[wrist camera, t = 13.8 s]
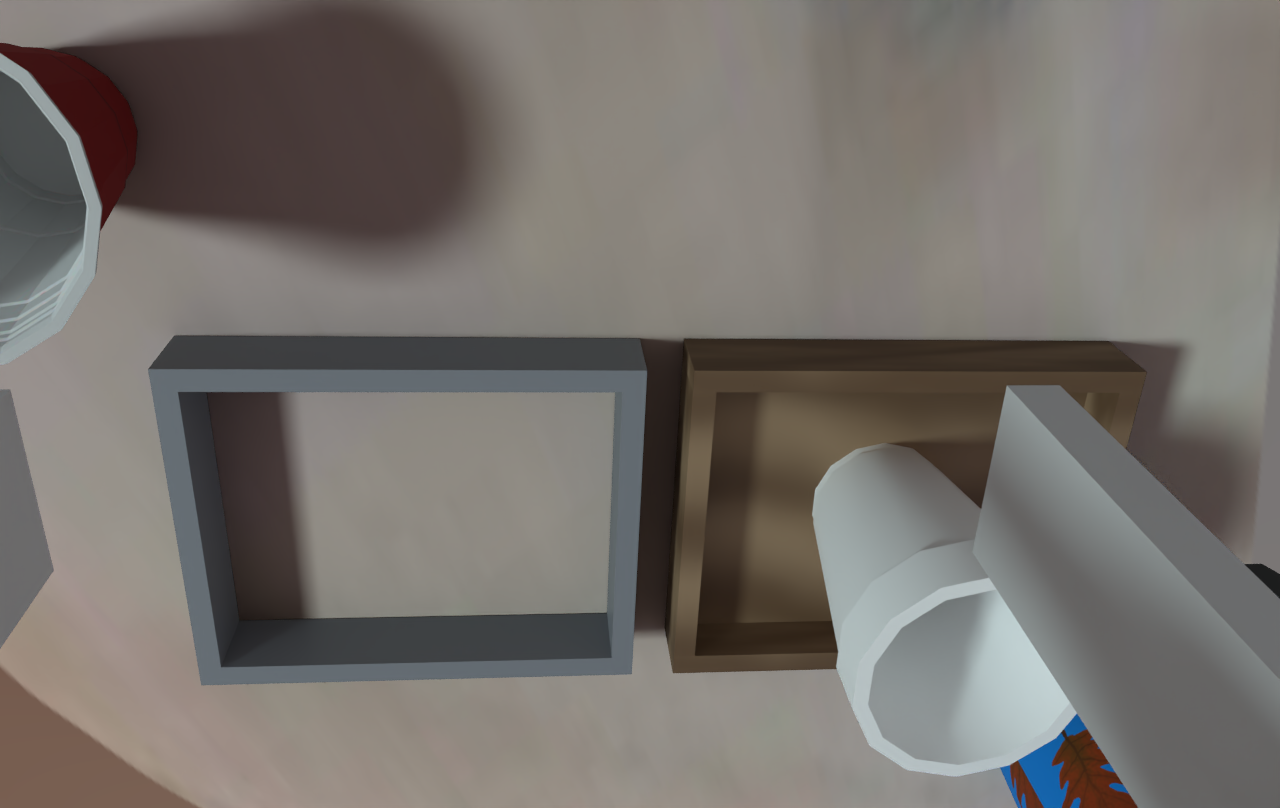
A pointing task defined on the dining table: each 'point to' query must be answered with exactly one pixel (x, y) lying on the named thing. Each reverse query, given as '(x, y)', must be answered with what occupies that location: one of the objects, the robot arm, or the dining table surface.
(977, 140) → the dining table surface
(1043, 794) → the thermos
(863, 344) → the bin
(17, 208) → the plastic cup
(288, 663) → the bin
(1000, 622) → the foam cup
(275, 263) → the dining table surface
